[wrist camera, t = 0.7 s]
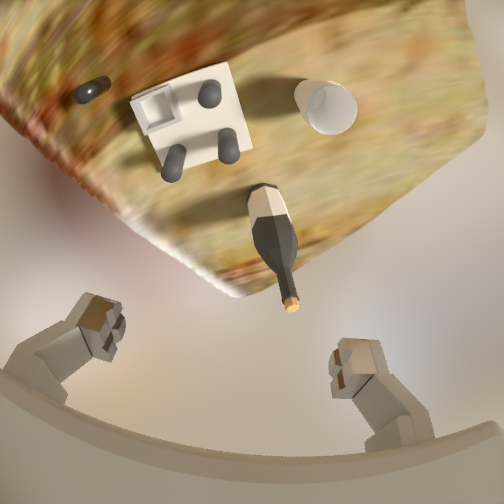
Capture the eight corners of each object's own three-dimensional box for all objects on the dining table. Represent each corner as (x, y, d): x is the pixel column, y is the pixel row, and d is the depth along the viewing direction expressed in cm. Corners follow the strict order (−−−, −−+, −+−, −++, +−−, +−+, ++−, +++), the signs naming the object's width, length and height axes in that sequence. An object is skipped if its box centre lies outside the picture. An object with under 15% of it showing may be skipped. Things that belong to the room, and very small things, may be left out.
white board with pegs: (134, 94, 42) (114, 109, 33) (226, 60, 40) (228, 65, 32) (168, 170, 54) (159, 199, 46) (251, 143, 52) (259, 168, 44)
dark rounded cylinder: (98, 74, 37) (77, 82, 30) (113, 78, 38) (94, 87, 32) (92, 90, 39) (72, 101, 32) (107, 94, 40) (88, 106, 34)
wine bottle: (248, 213, 65) (266, 326, 43) (245, 184, 59) (264, 296, 38) (282, 209, 65) (315, 318, 43) (281, 180, 59) (321, 288, 38)
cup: (288, 116, 49) (305, 136, 40) (286, 73, 43) (305, 82, 34) (331, 115, 49) (356, 135, 41) (332, 74, 43) (360, 85, 34)
